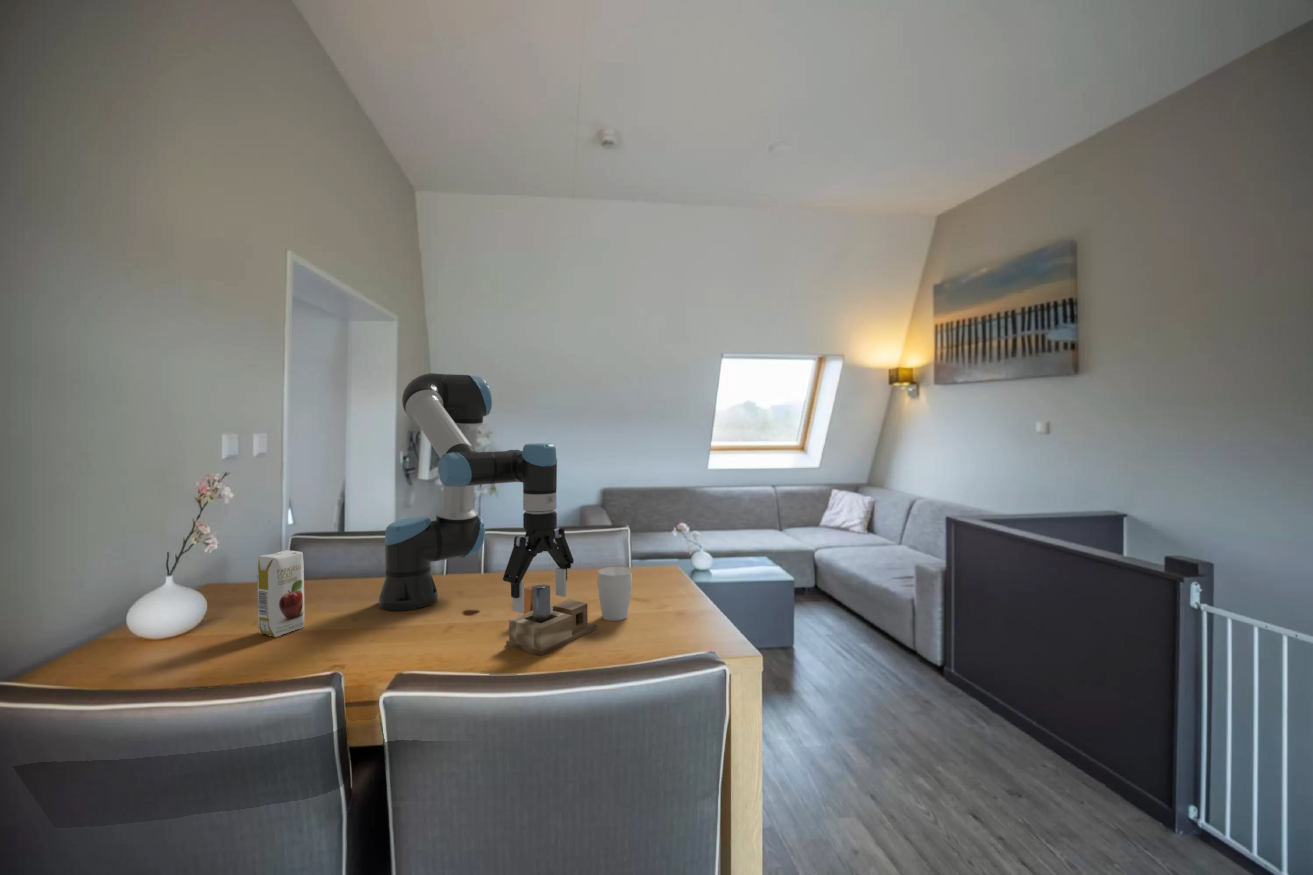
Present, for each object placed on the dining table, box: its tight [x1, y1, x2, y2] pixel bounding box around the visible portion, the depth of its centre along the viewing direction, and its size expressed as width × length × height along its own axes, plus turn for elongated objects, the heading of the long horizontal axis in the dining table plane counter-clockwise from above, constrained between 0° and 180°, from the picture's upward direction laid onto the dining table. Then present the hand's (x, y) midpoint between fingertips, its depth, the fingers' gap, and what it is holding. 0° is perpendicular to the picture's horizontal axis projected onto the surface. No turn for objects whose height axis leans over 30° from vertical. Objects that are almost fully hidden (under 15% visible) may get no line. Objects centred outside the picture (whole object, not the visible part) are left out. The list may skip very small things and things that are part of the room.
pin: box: [523, 585, 553, 614], centre depth 142 cm, size 14×3×8 cm, turn 57°
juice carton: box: [256, 549, 306, 637], centre depth 138 cm, size 8×9×19 cm
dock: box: [505, 598, 597, 656], centre depth 135 cm, size 11×19×6 cm, turn 147°
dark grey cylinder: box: [532, 584, 551, 623], centre depth 131 cm, size 4×4×12 cm
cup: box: [596, 566, 633, 622], centre depth 148 cm, size 9×9×12 cm
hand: (540, 603), depth 130 cm, fingers open, 13 cm apart
